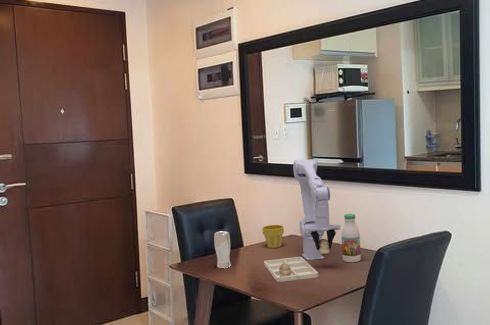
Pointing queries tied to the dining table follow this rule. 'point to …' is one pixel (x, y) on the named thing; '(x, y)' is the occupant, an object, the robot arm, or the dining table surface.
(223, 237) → the beer glass
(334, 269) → the dining table surface
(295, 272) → the white compartment tray
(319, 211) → the robot arm
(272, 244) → the plant pot
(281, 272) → the tan tiered dome
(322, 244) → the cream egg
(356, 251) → the milk bottle
